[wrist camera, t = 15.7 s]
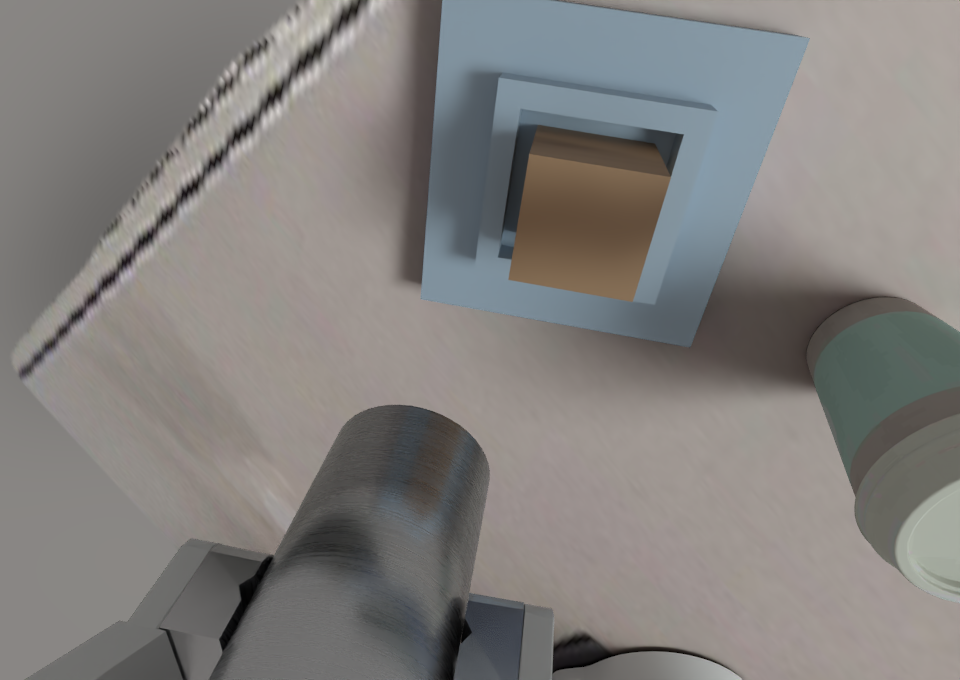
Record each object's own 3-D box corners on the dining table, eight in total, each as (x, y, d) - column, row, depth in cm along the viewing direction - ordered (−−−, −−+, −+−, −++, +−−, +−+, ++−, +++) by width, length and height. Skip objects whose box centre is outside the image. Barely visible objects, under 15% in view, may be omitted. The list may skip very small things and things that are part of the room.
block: (624, 252, 27) (632, 301, 23) (519, 233, 27) (508, 279, 23) (654, 143, 24) (671, 177, 20) (538, 124, 24) (529, 154, 20)
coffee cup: (741, 357, 30) (821, 541, 20) (887, 236, 26) (1080, 394, 16) (853, 437, 32) (979, 644, 22) (1008, 335, 28) (1253, 536, 18)
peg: (484, 531, 14) (396, 1055, 7) (341, 509, 14) (125, 988, 7) (494, 417, 12) (383, 992, 5) (327, 394, 12) (18, 905, 5)
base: (685, 332, 30) (695, 364, 28) (427, 286, 31) (413, 312, 28) (796, 35, 23) (824, 41, 20) (450, -16, 23) (435, -16, 21)
